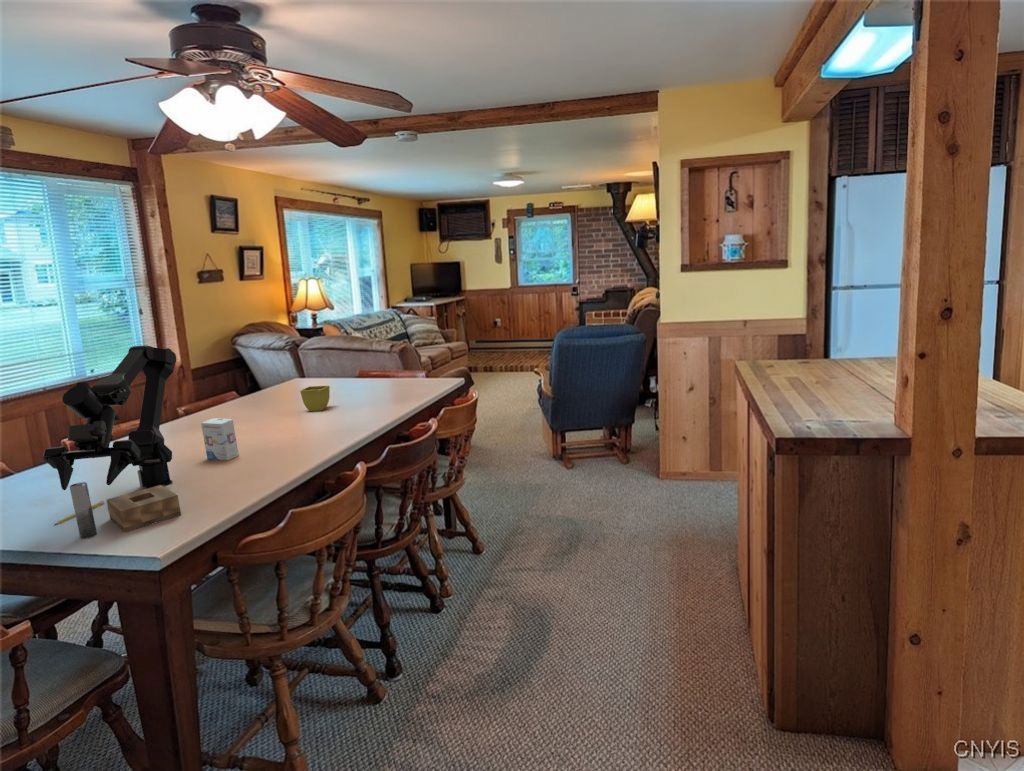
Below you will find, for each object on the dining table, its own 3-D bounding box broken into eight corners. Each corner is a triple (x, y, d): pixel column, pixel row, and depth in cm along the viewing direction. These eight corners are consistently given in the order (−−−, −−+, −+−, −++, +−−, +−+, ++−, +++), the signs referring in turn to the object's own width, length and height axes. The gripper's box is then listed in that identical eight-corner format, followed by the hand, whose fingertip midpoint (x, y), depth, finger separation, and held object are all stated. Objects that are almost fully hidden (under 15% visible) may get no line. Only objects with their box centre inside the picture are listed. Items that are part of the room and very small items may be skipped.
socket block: (164, 503, 163) (160, 484, 162) (181, 514, 155) (177, 494, 154) (110, 519, 155) (106, 499, 154) (125, 532, 146) (121, 511, 145)
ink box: (205, 459, 200) (199, 422, 198) (218, 454, 205) (212, 418, 203) (227, 460, 197) (221, 422, 195) (239, 455, 202) (234, 418, 200)
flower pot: (312, 407, 265) (309, 385, 263) (332, 406, 264) (329, 385, 262) (302, 412, 256) (299, 390, 255) (323, 412, 255) (320, 389, 253)
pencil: (52, 527, 153) (51, 523, 153) (101, 504, 167) (100, 501, 166) (55, 527, 153) (54, 523, 153) (104, 504, 166) (104, 501, 166)
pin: (95, 531, 148) (84, 481, 146) (98, 535, 146) (88, 484, 143) (78, 536, 146) (67, 485, 144) (82, 539, 144) (71, 488, 141)
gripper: (38, 414, 148) (21, 475, 139) (127, 405, 151) (115, 465, 142) (62, 439, 157) (47, 498, 148) (145, 430, 160) (135, 488, 151)
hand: (85, 486), depth 147 cm, fingers open, 9 cm apart
